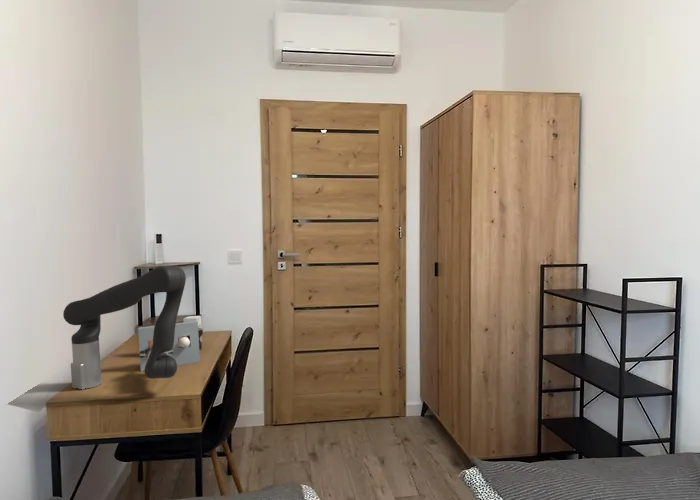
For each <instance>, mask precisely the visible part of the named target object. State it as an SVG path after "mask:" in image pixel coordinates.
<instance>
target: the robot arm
mask: <svg viewBox="0 0 700 500" xmlns="http://www.w3.org/2000/svg"><path fill="white" fill-rule="evenodd" d="M186 279H187V278H186V273H185V271H184V269H183V268H181V267H180V266H173V265H172V266H171V265H161V266H157V267H155V268H153V269H151V270H150V271H148V272H146V273H144V274H143V275H140V276H139V277H135V278H132V279H130V280H126V281H123V282H121V283H118V284H115V285H113V286H111V287H109V288H106V289H104V290H103V291H100V292H98V293H96V294H95V295H92V296H90V297H87V298H83V299H80V300H75V301H71V302H69V303H68V304H66V306H65V308H64V310H63V319H64V320H65V322H66V323H68V324H69V325H71V326H79V329H78V330H77V331H76V332H75V333H73V334H72V336H71V340H70V341H71V354H72V362H71V363H70V373H71V374H70V375H71V388H72V387H74V388H73V389H76V388H78V389H77V390H81V389H82V390H84V389H85V388H86V389H92V388H96V387H98V386H100V385H102V384H103V380H102V379H103V377H102V367H101V366H102V365H101V362H102V361H101V351H100V350H101V349H100V333H101V329H102V328H101V321H102V320H101V315H107V314H112V313H115V312H116V313H117V312H119V311H122V310H125V309H128V308H131V307H133V306H135V305H136V304H138V303H139V302H140V301H141V300H142V298H144V297H146V296H149V295H154V294H158V293H165V301H164V305H163V307H162V310H161V311H160V314H159V315H158V317H157V319H156V322H155V323H154V326H155V327H154V334H153V344H152V348H147V349H145V350H142V351H139V359H140V358H143V357H146V358H147V363H146V365H145V370H144V371H143V372H144V375H145V376H146V378H148V379H170V378H173V377H174V376H175V375H176V373H177V371H178V366H177V363H176V360H175V359H174V358H173V357H171V356H169V355H168V354H172V353H173V346H174V335H175V325H176V323H177V319H178V313H179V310H180V306H181V302H182V299H183V293H184V291H185V286H186V282H187V281H186ZM147 351H148V352H147ZM86 389H85V390H86Z"/></svg>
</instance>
